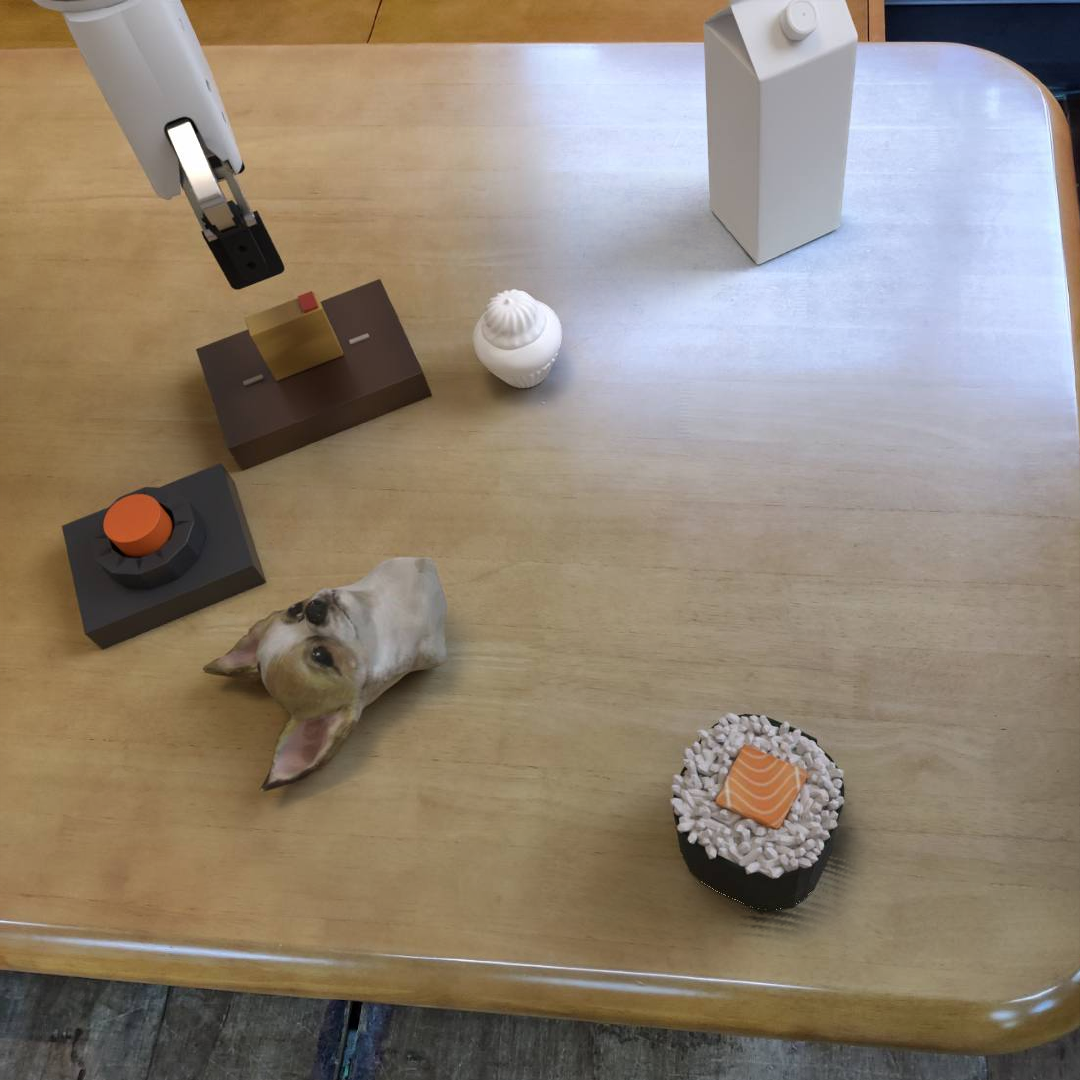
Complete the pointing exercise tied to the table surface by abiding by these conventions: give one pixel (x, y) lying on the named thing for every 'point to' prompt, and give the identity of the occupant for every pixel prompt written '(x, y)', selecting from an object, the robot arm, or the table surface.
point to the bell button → (138, 525)
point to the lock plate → (314, 381)
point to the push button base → (164, 560)
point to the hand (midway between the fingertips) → (239, 226)
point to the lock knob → (294, 336)
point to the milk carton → (778, 119)
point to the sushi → (757, 810)
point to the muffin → (518, 338)
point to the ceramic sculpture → (340, 657)
